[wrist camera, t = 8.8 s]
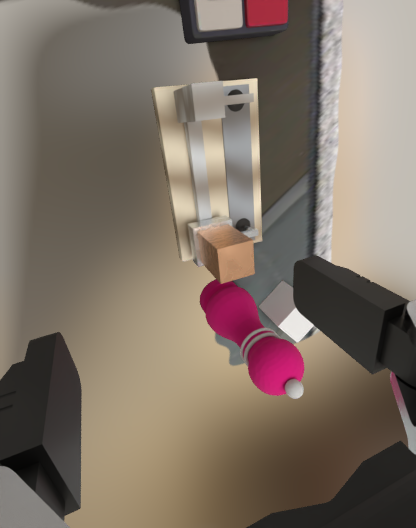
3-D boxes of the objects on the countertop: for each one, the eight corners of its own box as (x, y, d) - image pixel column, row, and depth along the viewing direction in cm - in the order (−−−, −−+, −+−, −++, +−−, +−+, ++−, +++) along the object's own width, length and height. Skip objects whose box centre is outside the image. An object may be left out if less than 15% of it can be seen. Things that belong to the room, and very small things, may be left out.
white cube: (257, 306, 49) (277, 326, 44) (282, 279, 49) (305, 297, 44) (276, 322, 52) (297, 343, 47) (299, 297, 52) (323, 315, 47)
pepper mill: (211, 324, 47) (284, 434, 30) (187, 296, 43) (254, 403, 26) (246, 296, 47) (338, 388, 30) (225, 265, 44) (316, 351, 27)
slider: (186, 223, 36) (212, 245, 29) (248, 209, 38) (286, 226, 31) (192, 259, 38) (217, 289, 31) (250, 244, 40) (285, 268, 33)
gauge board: (151, 89, 31) (168, 78, 25) (250, 80, 35) (288, 68, 28) (179, 257, 40) (197, 281, 34) (256, 237, 44) (286, 255, 37)
